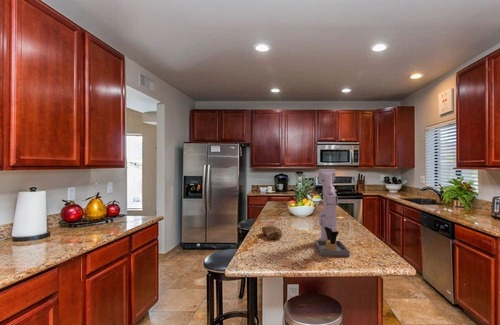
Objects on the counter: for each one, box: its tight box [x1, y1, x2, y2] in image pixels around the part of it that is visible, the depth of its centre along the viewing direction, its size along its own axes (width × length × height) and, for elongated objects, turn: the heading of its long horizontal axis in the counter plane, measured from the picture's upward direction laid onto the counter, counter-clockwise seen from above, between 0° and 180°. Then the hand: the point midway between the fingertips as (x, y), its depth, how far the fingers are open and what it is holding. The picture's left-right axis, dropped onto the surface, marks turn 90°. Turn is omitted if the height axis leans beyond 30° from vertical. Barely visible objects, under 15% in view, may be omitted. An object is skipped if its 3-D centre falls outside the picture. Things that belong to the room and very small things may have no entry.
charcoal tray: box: [314, 239, 351, 258], centre depth 157 cm, size 20×14×3 cm
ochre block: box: [326, 240, 336, 250], centre depth 157 cm, size 5×5×5 cm
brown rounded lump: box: [261, 225, 283, 241], centre depth 190 cm, size 13×8×20 cm
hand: (331, 242), depth 157 cm, fingers open, 7 cm apart
